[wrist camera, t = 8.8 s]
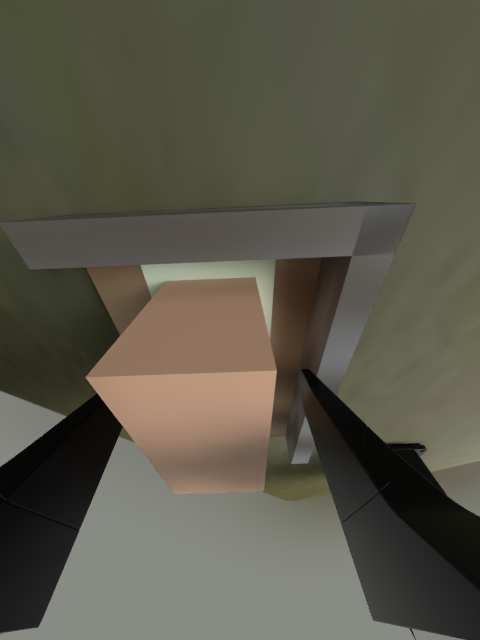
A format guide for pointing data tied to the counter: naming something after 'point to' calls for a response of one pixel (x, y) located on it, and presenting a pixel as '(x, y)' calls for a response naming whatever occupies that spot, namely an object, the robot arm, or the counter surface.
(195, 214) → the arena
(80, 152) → the counter surface
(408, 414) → the counter surface
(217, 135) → the counter surface
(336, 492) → the robot arm
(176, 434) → the terracotta block
